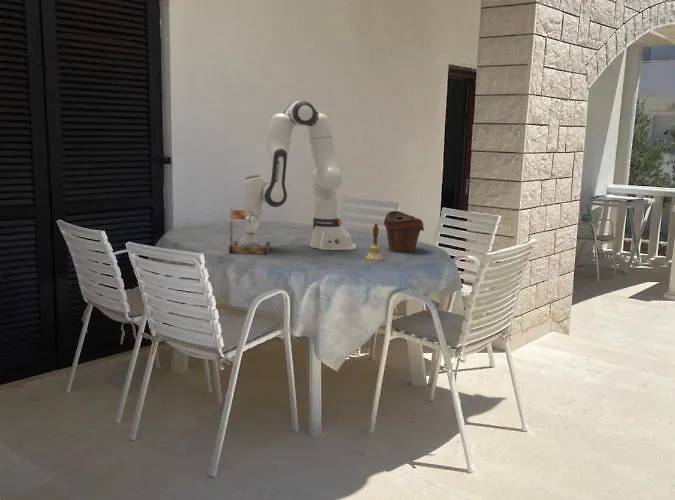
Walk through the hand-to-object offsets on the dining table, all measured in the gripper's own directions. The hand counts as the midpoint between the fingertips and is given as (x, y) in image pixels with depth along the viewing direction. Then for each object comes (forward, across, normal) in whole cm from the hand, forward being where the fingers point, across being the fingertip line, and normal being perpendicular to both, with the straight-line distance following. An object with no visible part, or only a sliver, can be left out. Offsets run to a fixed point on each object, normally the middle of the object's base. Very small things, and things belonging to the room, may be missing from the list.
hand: (252, 239), depth 316 cm
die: (+4, -5, +1) cm, 7 cm away
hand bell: (+4, -14, -57) cm, 59 cm away
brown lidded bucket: (+4, +10, -72) cm, 73 cm away
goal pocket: (+4, -6, 0) cm, 7 cm away
